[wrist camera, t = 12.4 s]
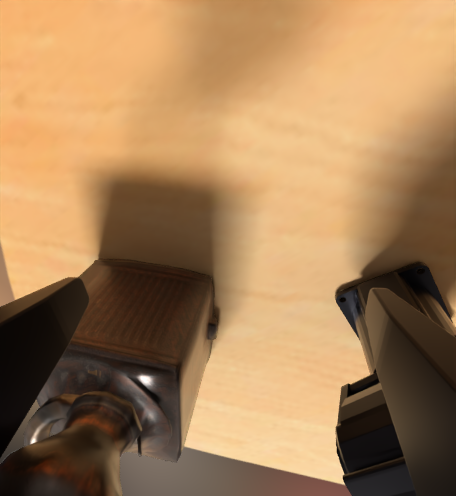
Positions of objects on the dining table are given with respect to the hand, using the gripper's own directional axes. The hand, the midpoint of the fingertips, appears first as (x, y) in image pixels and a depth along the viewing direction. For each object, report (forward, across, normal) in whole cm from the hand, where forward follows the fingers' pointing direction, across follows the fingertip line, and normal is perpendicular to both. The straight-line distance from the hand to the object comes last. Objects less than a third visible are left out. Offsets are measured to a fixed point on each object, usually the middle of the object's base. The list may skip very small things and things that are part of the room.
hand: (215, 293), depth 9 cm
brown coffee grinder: (+12, +8, +10) cm, 18 cm away
